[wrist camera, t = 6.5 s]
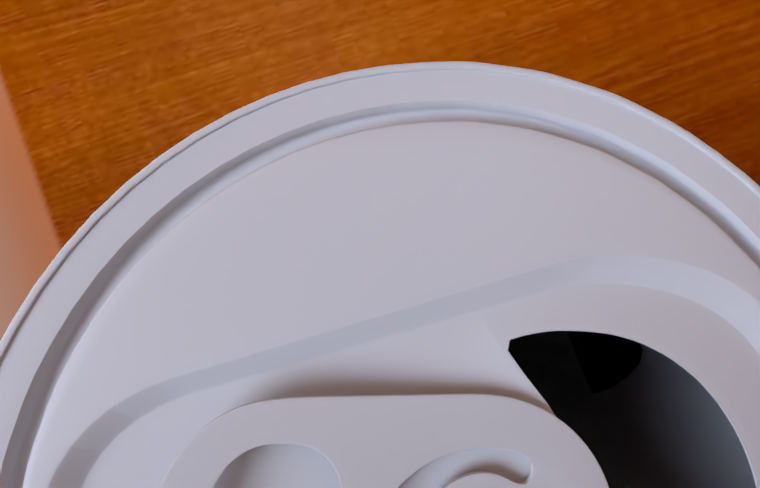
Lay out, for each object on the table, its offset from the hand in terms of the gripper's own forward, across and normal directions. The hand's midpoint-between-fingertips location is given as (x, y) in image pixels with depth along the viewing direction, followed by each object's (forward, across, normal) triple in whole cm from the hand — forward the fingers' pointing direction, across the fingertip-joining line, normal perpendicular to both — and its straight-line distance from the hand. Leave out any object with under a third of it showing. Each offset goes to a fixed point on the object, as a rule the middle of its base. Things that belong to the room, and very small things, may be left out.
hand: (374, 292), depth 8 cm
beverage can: (+4, 0, +6) cm, 7 cm away
